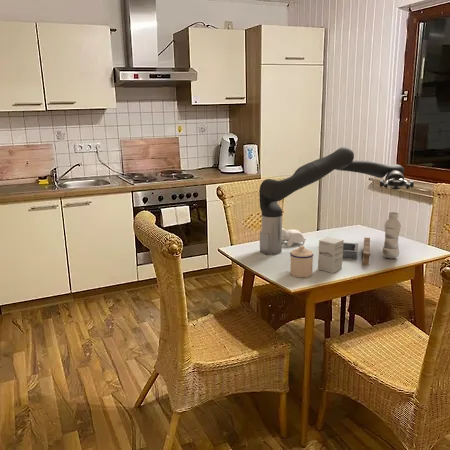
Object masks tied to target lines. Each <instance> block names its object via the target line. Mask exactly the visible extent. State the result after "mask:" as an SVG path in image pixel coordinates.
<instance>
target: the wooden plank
mask: <svg viewBox="0 0 450 450" xmlns="http://www.w3.org/2000/svg"><path fill="white" fill-rule="evenodd" d="M370 253H371V238H370V237H365V236H364V238H363V255H362V265H363V266H369V265H370Z"/></svg>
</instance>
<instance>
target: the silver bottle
mask: <svg viewBox="0 0 450 450" xmlns="http://www.w3.org/2000/svg"><path fill="white" fill-rule="evenodd" d="M398 218H399V213H398V212H396V211H395V212H393V211H391V212H389V213H388V219H387V220H386V221H385V223H384V243H383V244H384V245H383V248H382V256H383V257H384V258H386V259H396V258H398V257H399V253H400V249H399V236H400V231H401V226H402V225H401V222H400V221H399V219H398Z"/></svg>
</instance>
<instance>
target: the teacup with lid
mask: <svg viewBox="0 0 450 450" xmlns="http://www.w3.org/2000/svg"><path fill="white" fill-rule="evenodd" d="M289 255H290V264H289V265H290V266H289V267H290V268H289V269H290V270H289V271H290V275H291V276H293V277H295V278H300V279H301V278H302V279H304V278H310V277H311V276H312V275H313V263H314V262H313V261H314V252H313V250H310V249H307V248H306V247H305V245H300V246H299V247H298V248H295V249H292V250H291V251H290V252H289Z"/></svg>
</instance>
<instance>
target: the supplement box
mask: <svg viewBox="0 0 450 450" xmlns="http://www.w3.org/2000/svg"><path fill="white" fill-rule="evenodd" d="M344 241H345V240H344V239H340V238H335V237H332V236H326V237H322V238H321V239H319V240H318V258H317V259H318V260H317V270H320V271H324V272H327V273H331V274H334V273H336V272H339V271H340V270H342V267H343V258H342V257H343V243H345V242H344Z"/></svg>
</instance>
